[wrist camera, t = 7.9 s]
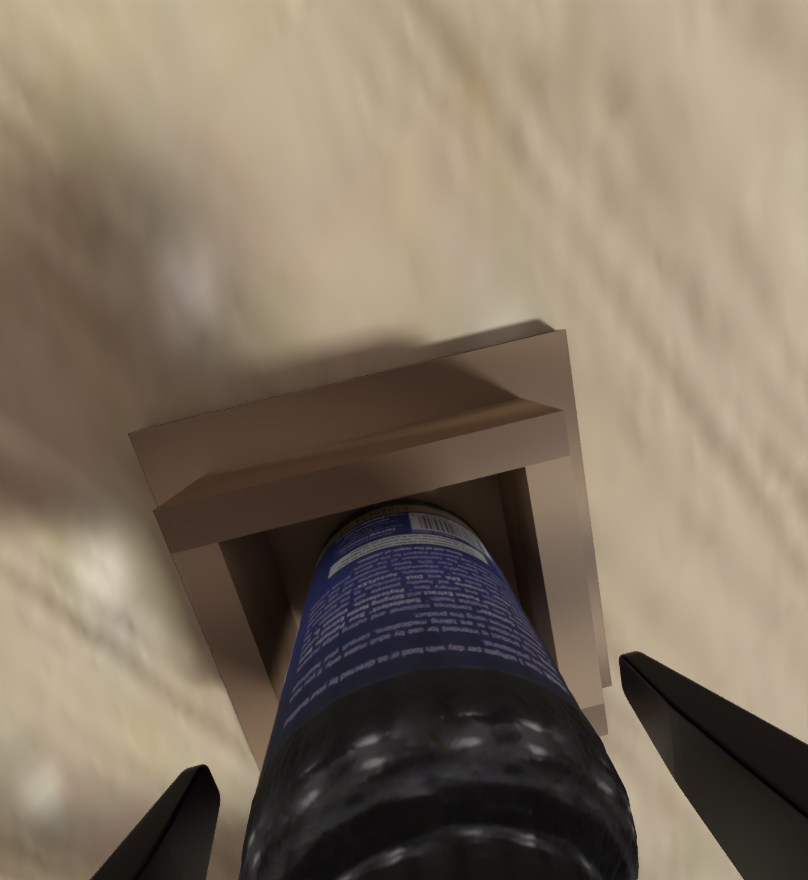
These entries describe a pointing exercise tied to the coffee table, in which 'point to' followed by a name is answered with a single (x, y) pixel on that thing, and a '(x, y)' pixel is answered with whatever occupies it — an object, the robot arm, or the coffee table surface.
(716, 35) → the coffee table surface
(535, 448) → the walnut holder
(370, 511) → the pill bottle
